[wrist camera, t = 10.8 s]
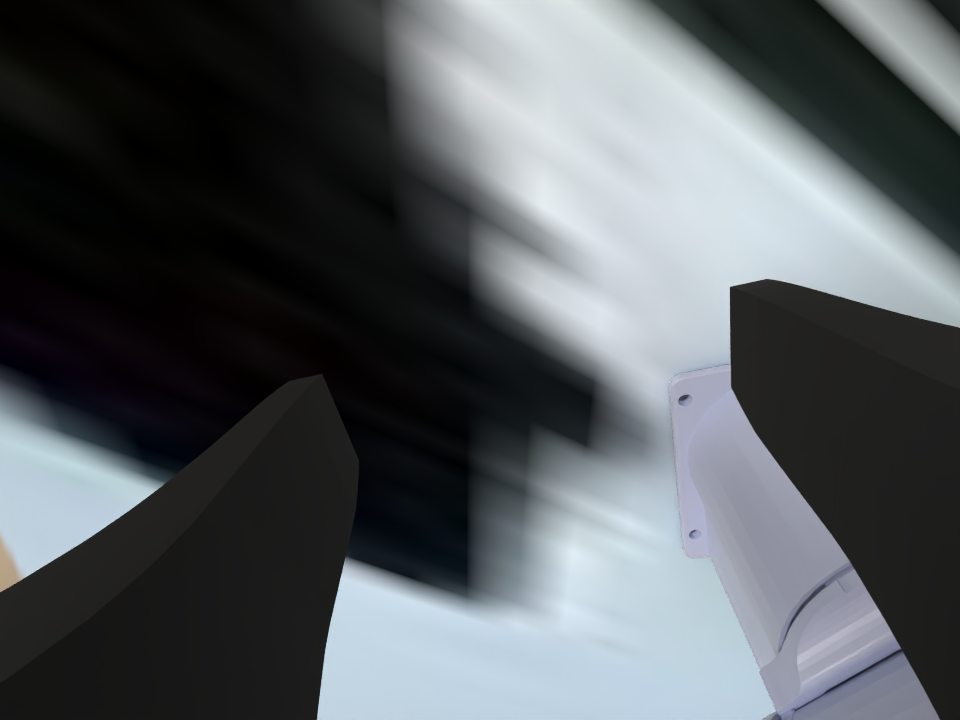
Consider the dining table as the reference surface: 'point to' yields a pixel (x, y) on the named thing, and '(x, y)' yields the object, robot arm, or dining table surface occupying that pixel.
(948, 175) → the dining table surface
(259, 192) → the dining table surface
